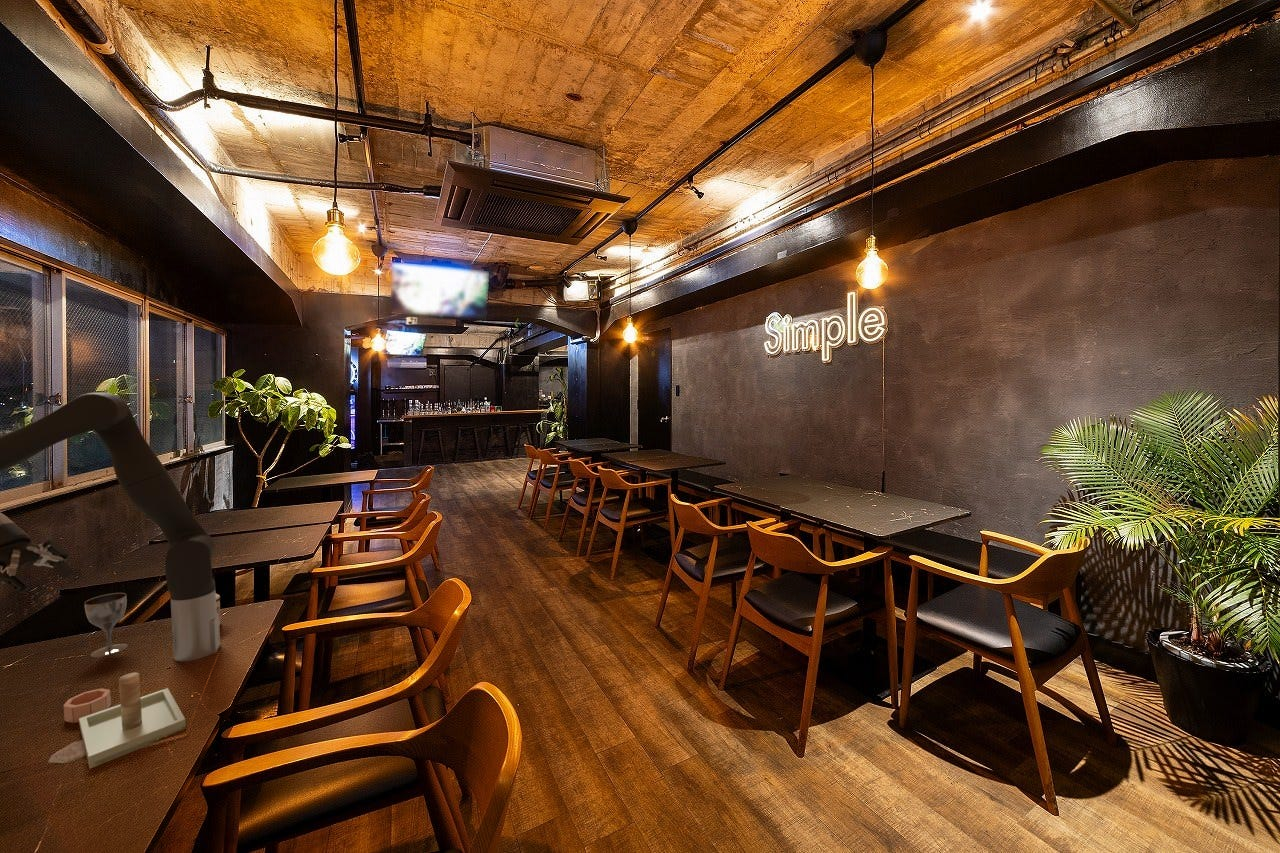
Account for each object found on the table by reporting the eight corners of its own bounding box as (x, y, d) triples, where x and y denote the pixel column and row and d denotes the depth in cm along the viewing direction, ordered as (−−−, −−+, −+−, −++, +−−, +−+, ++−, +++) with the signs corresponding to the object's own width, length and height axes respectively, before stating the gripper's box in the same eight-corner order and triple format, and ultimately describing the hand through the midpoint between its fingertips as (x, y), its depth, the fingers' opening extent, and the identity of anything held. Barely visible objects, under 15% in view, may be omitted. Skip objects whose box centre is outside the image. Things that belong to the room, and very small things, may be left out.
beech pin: (144, 719, 109) (140, 671, 108) (139, 726, 106) (136, 677, 106) (124, 723, 107) (121, 675, 107) (120, 731, 105) (116, 682, 104)
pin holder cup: (114, 702, 116) (113, 685, 116) (104, 717, 111) (102, 700, 110) (73, 711, 113) (72, 694, 113) (60, 728, 107) (59, 710, 107)
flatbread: (95, 735, 106) (94, 730, 105) (115, 744, 103) (115, 739, 103) (38, 761, 98) (38, 757, 98) (59, 772, 95) (59, 767, 95)
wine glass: (126, 640, 144) (123, 590, 143) (132, 648, 140) (129, 597, 139) (86, 652, 138) (82, 599, 137) (90, 661, 133) (86, 607, 132)
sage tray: (79, 729, 107) (79, 718, 107) (168, 697, 118) (167, 687, 118) (89, 768, 96) (88, 756, 96) (185, 730, 107) (185, 719, 107)
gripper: (-39, 531, 106) (22, 583, 107) (39, 514, 120) (92, 560, 121) (-63, 555, 106) (-1, 607, 107) (18, 536, 120) (71, 582, 121)
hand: (48, 582), depth 114 cm, fingers open, 8 cm apart
